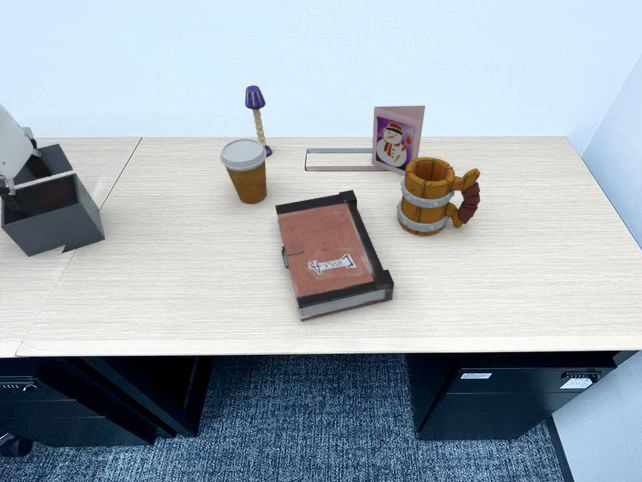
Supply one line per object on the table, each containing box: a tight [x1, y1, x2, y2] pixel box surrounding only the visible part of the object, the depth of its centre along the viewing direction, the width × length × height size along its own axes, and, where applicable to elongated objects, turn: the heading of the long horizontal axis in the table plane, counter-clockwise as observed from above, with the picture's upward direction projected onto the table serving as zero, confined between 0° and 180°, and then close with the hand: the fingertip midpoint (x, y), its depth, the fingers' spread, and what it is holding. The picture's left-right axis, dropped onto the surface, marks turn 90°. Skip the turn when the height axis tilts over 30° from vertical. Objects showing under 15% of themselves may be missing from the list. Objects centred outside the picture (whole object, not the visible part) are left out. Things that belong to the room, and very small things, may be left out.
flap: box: [0, 143, 74, 188], centre depth 77 cm, size 13×5×1 cm
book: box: [274, 189, 395, 322], centre depth 77 cm, size 26×18×5 cm
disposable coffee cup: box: [219, 137, 268, 205], centre depth 87 cm, size 10×10×12 cm
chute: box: [0, 172, 106, 258], centre depth 79 cm, size 13×11×10 cm
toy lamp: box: [244, 84, 273, 158], centre depth 96 cm, size 5×5×17 cm
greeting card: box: [371, 105, 426, 177], centre depth 93 cm, size 11×7×15 cm, turn 58°
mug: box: [396, 156, 481, 237], centre depth 80 cm, size 11×16×15 cm, turn 70°
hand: (33, 192), depth 74 cm, fingers open, 9 cm apart
